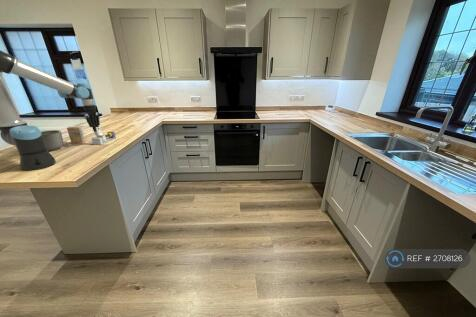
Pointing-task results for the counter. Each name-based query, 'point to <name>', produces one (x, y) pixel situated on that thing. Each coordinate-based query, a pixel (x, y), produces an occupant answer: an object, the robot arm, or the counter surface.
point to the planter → (52, 139)
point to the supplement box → (76, 134)
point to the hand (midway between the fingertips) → (97, 135)
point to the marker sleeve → (101, 135)
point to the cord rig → (99, 140)
